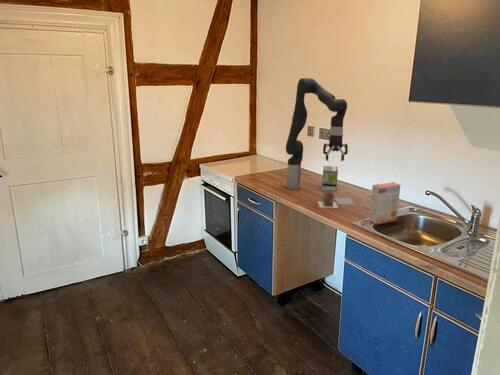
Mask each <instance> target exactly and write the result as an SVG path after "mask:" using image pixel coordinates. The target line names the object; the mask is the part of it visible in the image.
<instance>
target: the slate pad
mask: <svg viewBox="0 0 500 375" xmlns="http://www.w3.org/2000/svg"><path fill="white" fill-rule="evenodd" d="M333 200H335V201H334V202H336V204H337V206H338V205H339V206H341V205H347V206H354V205H355V204H354V202H353V200H352V199H351V197H349V198H348V197H333Z"/></svg>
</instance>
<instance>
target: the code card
mask: <svg viewBox="0 0 500 375" xmlns="http://www.w3.org/2000/svg"><path fill="white" fill-rule="evenodd" d="M317 204H318V207H319V208H331V209H332V208H333V209H334V208H335V209H336V208H339V206H338V204H337V203H336V201H333V206H324V204H323V201H317Z"/></svg>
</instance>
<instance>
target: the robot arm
mask: <svg viewBox="0 0 500 375" xmlns="http://www.w3.org/2000/svg"><path fill="white" fill-rule="evenodd" d="M306 94H313V95H315V96H316V97H317V100H319V101H320V102H321V103H322V104H324V105H325V106H326V107H327V109H328V110H329V111H330V112H333V113H336V114H335V115H332V117H330V118H331V119H330V128H329V142H328V143H323V148H322V153H323V154H324V155H325V160H326V161H327V162H329V154H330V153H331V152H340V153H341V156H340V160H341V161H340V162H343V161H344V160H345V155H348V150H349V148H348V143H343V139H344V138H343V136H344V118H345V115H346V112H347V110H348V102H347V100H345V98H344V99H343V98H340V99H339V98H337V99H336V96H335V95H334V94H332V93H331V92H329V91H328V90H327V89H325V88H323V87H322V85H320V84H319V83H318V81H316V80H315V79H314V78H306V77H302V78H300V79H299V80H298V82H297V86H296V95H295V96H296V97H295V103H294V109H293V114H292V120H291V125H290V128H289V134H288V138H287V140H286V143H285V151H286V154H287V155H290V158H288V159H287V174H286V175H287V176H286V188H287V189H289V190H298V189H300V188H301V176H302V175H301V173H302V172H301V171H302V161H303V156H304V145H303V142H302V141H301V140H298V137H299V135H300V134H301V132H302V130H303V129H304V128H305V126H306V123H307V119H308V109H307V107H306V105H305V96H306ZM328 147H329V148H328ZM327 148H328V149H327ZM342 148H344V151H343V149H342ZM326 149H327V151H326Z"/></svg>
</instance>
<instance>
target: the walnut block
mask: <svg viewBox="0 0 500 375" xmlns="http://www.w3.org/2000/svg"><path fill="white" fill-rule="evenodd" d="M334 197H335V196H334V191H332V190H324V191H323V197H322V202H323V204H324V206H333V202H334Z"/></svg>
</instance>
